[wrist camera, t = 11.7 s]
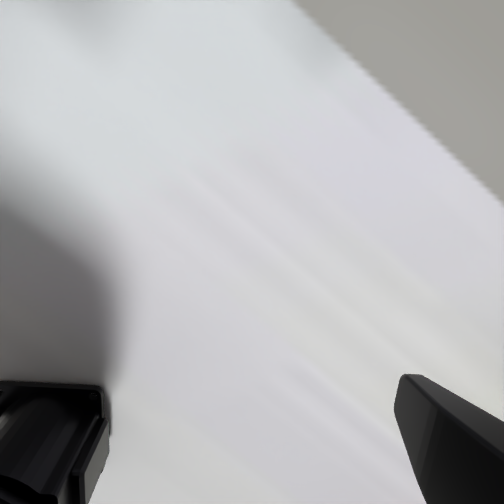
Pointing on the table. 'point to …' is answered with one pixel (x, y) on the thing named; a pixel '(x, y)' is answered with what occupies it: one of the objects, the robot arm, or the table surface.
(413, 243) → the table surface
